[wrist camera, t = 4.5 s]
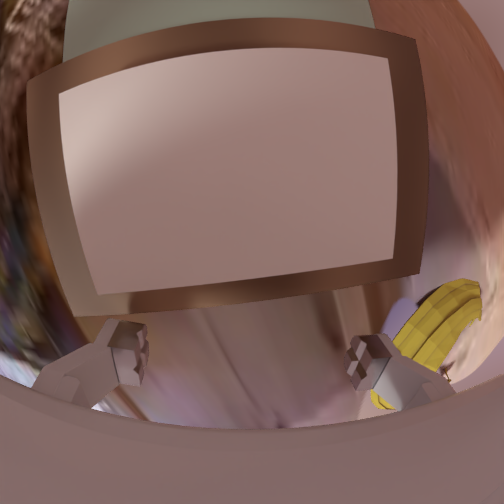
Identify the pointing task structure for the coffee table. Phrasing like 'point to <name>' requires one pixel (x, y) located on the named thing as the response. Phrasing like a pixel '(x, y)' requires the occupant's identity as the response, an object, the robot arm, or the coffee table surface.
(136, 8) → the mat
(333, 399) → the coffee table surface
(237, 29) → the wooden block
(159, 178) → the tile
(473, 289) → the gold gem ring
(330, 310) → the coffee table surface
